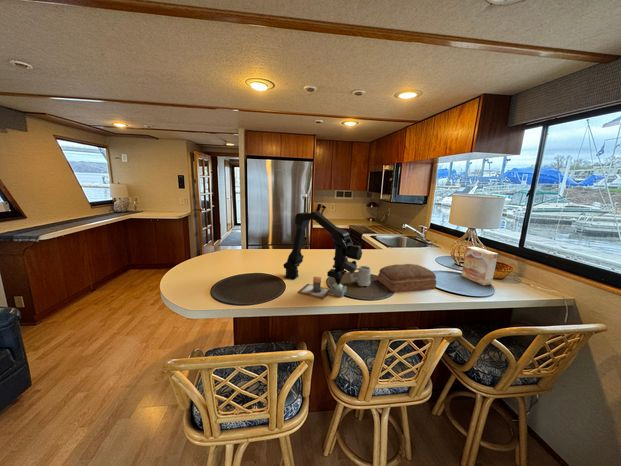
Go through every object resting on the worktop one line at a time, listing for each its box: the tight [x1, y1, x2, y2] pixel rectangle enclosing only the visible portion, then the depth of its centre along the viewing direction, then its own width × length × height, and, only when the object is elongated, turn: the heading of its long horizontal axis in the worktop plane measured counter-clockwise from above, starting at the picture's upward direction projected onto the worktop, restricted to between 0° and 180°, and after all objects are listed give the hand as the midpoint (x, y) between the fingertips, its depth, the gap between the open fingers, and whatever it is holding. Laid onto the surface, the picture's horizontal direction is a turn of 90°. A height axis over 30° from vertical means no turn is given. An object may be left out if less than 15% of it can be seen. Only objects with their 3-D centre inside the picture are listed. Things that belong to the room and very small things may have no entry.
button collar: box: [328, 283, 348, 298], centre depth 126 cm, size 7×7×3 cm
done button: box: [333, 282, 344, 290], centre depth 125 cm, size 4×4×4 cm
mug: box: [349, 265, 372, 287], centre depth 137 cm, size 8×12×12 cm, turn 87°
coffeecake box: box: [460, 246, 499, 286], centre depth 148 cm, size 15×7×20 cm, turn 18°
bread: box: [377, 263, 437, 292], centre depth 139 cm, size 17×29×11 cm, turn 103°
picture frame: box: [297, 283, 329, 300], centre depth 126 cm, size 14×11×1 cm
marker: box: [312, 276, 322, 292], centre depth 125 cm, size 4×4×7 cm
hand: (338, 284), depth 125 cm, fingers closed
